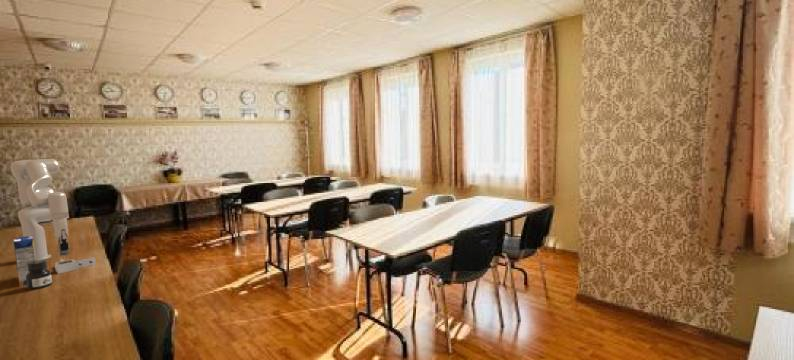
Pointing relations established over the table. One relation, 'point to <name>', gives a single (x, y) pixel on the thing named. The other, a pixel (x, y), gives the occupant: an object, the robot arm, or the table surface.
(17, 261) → the beverage box
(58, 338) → the table surface
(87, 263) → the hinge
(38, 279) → the ink bottle
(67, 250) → the grey upright cylinder
